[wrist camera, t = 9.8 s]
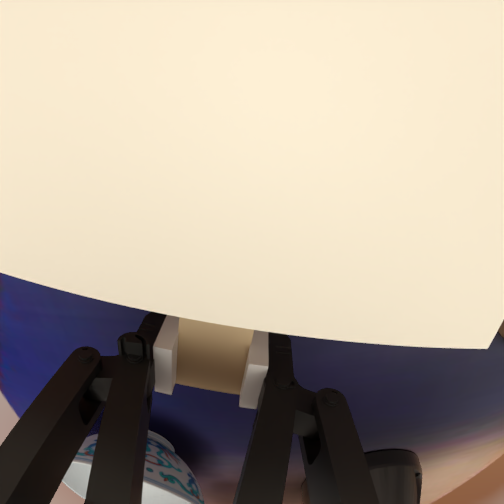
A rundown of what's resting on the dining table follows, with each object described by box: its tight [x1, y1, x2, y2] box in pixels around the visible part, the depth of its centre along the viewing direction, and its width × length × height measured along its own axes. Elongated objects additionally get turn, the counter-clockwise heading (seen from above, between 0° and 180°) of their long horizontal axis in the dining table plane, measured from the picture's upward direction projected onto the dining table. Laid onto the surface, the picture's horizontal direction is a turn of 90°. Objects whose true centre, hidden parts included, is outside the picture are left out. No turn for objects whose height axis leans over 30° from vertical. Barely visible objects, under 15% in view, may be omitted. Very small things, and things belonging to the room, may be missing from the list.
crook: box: [175, 317, 254, 395], centre depth 14 cm, size 18×10×6 cm, turn 170°
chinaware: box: [62, 430, 204, 504], centre depth 25 cm, size 15×15×8 cm
